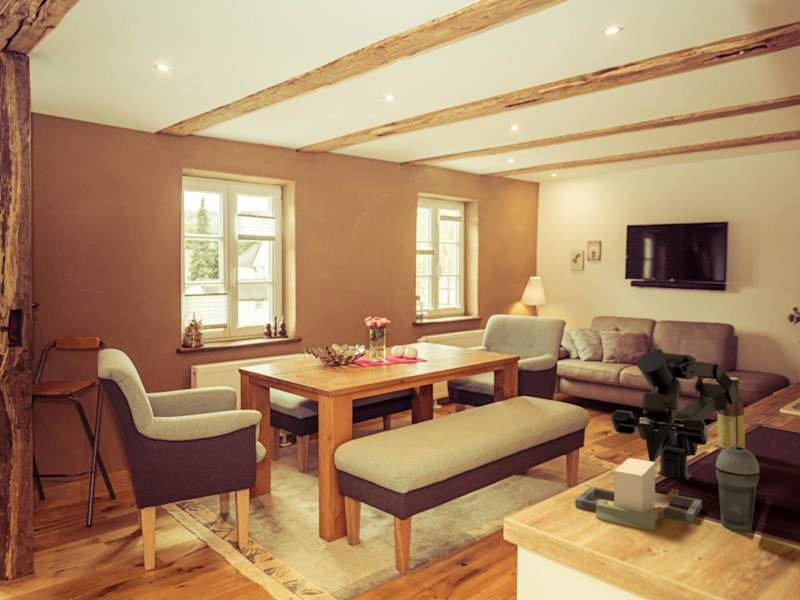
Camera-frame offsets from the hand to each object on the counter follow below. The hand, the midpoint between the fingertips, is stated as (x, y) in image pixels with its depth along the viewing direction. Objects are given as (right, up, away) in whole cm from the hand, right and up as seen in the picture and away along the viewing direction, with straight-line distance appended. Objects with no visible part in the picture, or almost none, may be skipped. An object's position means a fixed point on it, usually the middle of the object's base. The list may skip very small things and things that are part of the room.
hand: (651, 460), depth 127 cm
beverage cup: (+9, -9, -17) cm, 21 cm away
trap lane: (-5, -8, -7) cm, 12 cm away
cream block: (-7, -7, -10) cm, 14 cm away
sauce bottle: (+35, -7, +33) cm, 49 cm away
